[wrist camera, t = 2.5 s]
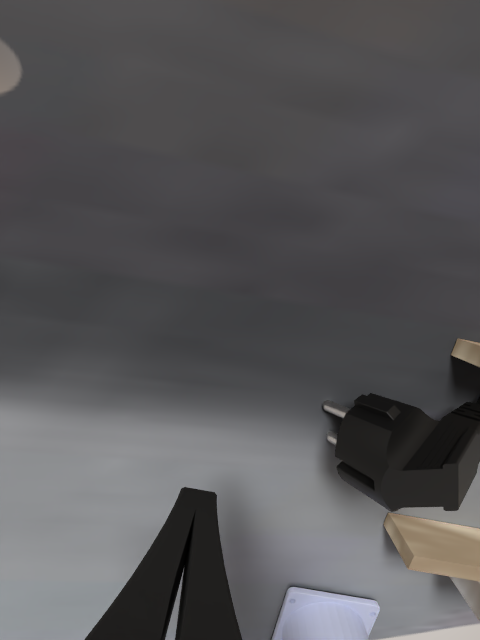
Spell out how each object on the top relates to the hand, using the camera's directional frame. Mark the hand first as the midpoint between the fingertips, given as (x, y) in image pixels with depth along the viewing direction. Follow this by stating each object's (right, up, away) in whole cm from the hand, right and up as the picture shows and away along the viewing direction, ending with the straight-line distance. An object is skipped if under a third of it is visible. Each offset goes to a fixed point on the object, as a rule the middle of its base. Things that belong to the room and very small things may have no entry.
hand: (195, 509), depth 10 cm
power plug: (+13, +1, +8) cm, 16 cm away
